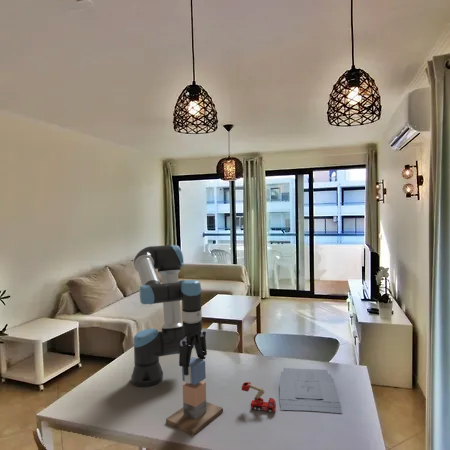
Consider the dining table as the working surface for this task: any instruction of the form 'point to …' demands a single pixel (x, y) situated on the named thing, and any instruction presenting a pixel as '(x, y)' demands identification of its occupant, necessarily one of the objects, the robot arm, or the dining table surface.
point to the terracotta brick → (194, 393)
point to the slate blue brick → (196, 370)
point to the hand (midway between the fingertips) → (194, 378)
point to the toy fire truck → (260, 399)
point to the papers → (308, 391)
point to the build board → (194, 423)
